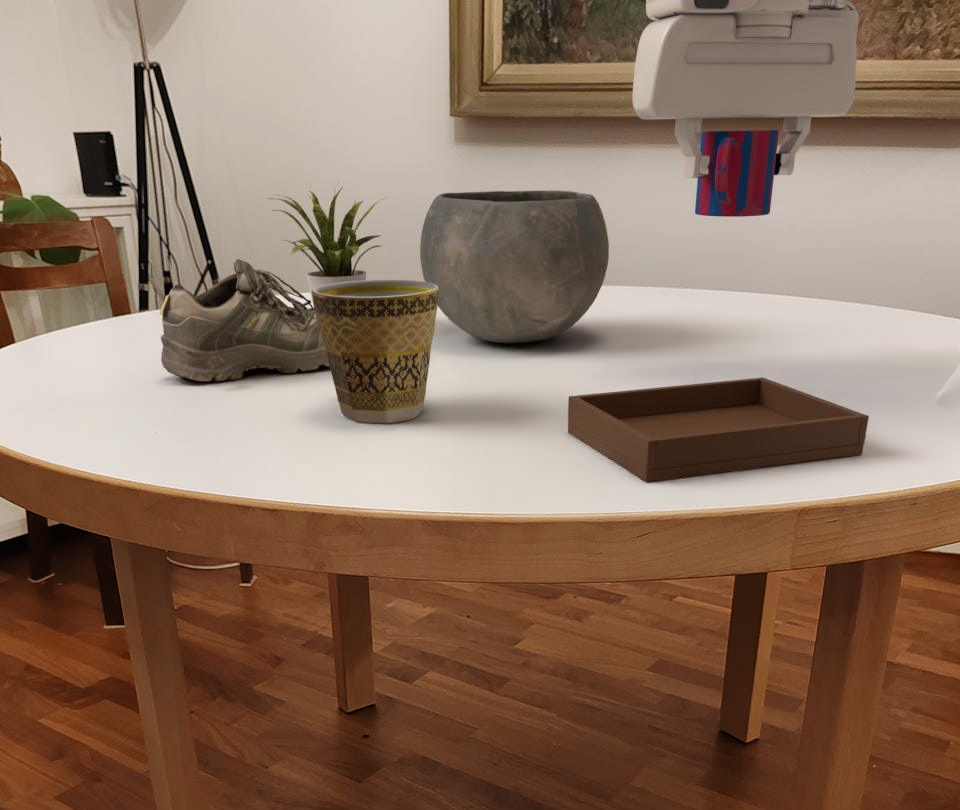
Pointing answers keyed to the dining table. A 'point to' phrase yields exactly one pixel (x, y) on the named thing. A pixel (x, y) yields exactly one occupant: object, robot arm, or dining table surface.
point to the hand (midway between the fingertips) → (738, 176)
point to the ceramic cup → (378, 345)
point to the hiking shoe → (239, 329)
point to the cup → (737, 173)
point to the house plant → (331, 243)
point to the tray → (714, 427)
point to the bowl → (515, 261)
